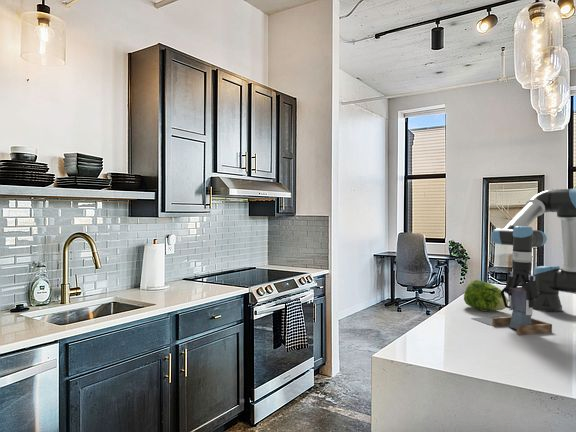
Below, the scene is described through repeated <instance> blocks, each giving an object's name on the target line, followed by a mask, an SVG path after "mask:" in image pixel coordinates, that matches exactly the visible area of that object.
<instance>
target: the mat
mask: <svg viewBox="0 0 576 432" xmlns="http://www.w3.org/2000/svg"><path fill="white" fill-rule="evenodd" d="M497 317H499V316H496V315H495V316H485V317H484V316H483V317H471V320H474V321H477V322H479V323H482V324H485V325H487V326H492V322H493V318H497Z"/></svg>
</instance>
